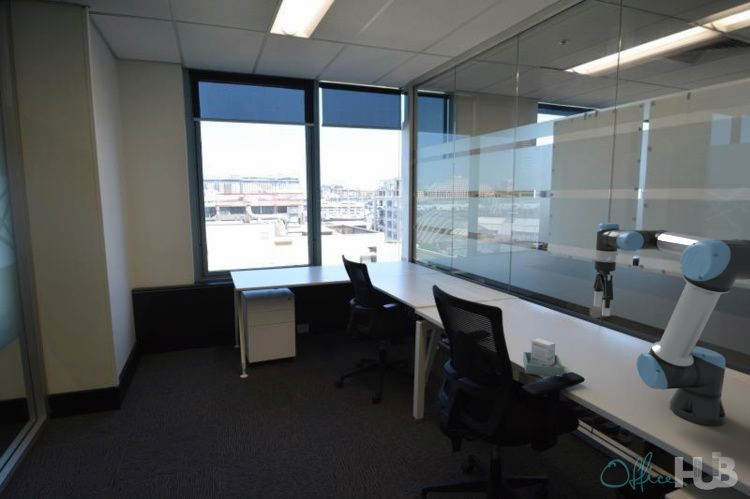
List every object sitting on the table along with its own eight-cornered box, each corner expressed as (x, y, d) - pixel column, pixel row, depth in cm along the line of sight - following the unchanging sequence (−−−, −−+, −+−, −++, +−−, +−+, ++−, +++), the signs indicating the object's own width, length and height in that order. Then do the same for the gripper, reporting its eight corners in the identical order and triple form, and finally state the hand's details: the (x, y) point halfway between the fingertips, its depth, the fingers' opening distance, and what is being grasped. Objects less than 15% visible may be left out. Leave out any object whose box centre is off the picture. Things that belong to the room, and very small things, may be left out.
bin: (562, 377, 169) (563, 368, 169) (525, 373, 173) (526, 364, 173) (557, 363, 183) (557, 355, 183) (523, 360, 187) (523, 351, 186)
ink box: (554, 369, 176) (556, 343, 174) (548, 372, 173) (550, 345, 171) (536, 362, 182) (537, 337, 181) (529, 365, 179) (531, 339, 178)
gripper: (625, 266, 156) (620, 320, 159) (607, 256, 179) (603, 303, 182) (603, 265, 158) (599, 318, 161) (588, 255, 181) (584, 302, 184)
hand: (601, 310), depth 172 cm, fingers open, 13 cm apart
